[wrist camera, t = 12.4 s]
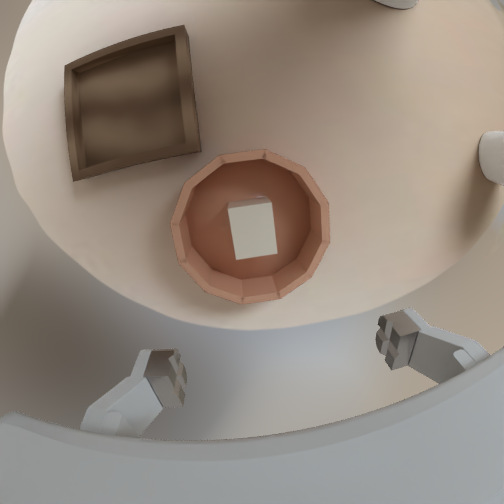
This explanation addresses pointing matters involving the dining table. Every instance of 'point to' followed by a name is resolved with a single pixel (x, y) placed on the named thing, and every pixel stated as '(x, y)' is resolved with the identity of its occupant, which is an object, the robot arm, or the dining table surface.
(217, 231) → the terracotta bowl
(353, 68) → the dining table surface
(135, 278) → the dining table surface
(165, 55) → the walnut tray
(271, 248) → the off-white cube block
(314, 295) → the dining table surface
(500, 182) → the candle holder
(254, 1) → the dining table surface
